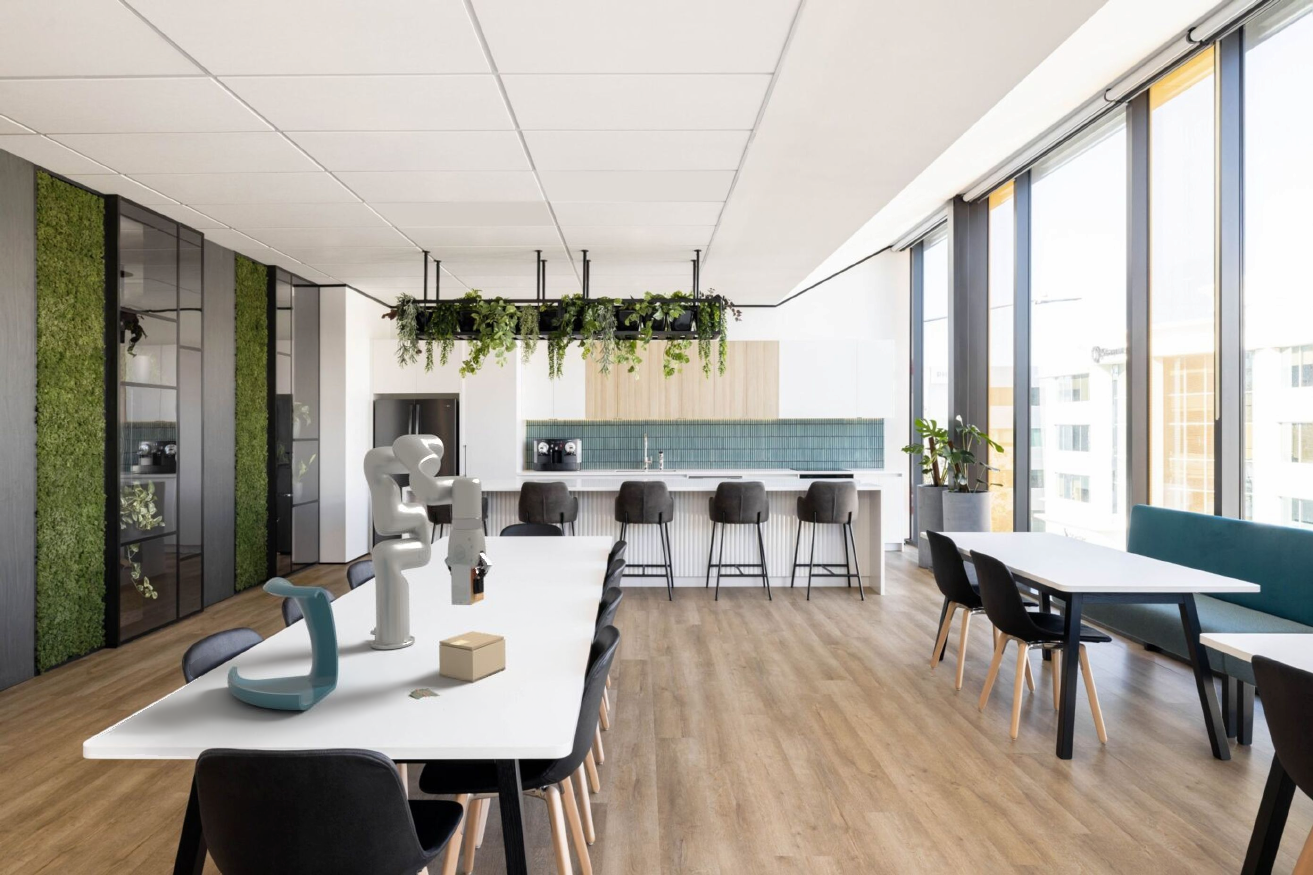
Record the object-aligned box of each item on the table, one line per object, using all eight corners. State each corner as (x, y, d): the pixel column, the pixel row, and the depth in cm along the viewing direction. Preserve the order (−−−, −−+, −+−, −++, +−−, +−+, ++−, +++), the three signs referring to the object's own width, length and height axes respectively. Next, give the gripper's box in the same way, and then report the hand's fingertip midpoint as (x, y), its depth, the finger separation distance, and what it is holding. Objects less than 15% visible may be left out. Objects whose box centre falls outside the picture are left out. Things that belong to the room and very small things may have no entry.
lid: (438, 644, 189) (438, 641, 189) (472, 633, 199) (472, 630, 199) (470, 650, 183) (470, 647, 183) (503, 639, 193) (503, 636, 193)
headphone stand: (298, 716, 162) (305, 592, 163) (175, 712, 162) (183, 588, 164) (349, 684, 188) (355, 577, 190) (243, 680, 188) (250, 574, 190)
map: (425, 689, 179) (425, 686, 179) (470, 710, 165) (470, 706, 165) (406, 695, 175) (406, 691, 175) (451, 717, 161) (451, 713, 161)
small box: (470, 605, 186) (470, 565, 186) (450, 605, 187) (450, 564, 187) (484, 599, 194) (484, 559, 194) (465, 598, 195) (464, 559, 195)
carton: (439, 675, 189) (439, 644, 189) (472, 662, 199) (472, 633, 199) (473, 682, 183) (472, 651, 183) (505, 669, 193) (505, 639, 193)
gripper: (433, 524, 192) (434, 591, 192) (481, 527, 183) (482, 597, 183) (454, 521, 198) (455, 586, 198) (501, 524, 189) (502, 592, 189)
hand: (468, 591), depth 190 cm, fingers closed on small box, 7 cm apart
